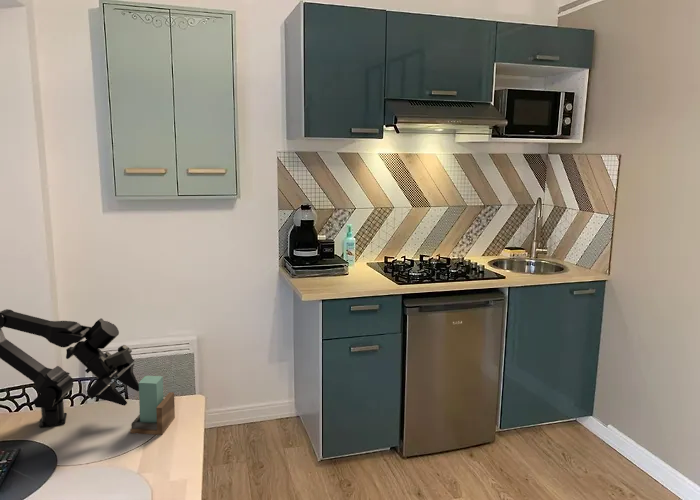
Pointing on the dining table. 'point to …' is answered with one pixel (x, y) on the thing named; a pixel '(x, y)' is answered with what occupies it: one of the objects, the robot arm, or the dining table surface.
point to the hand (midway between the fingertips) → (132, 397)
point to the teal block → (150, 397)
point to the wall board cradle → (163, 418)
